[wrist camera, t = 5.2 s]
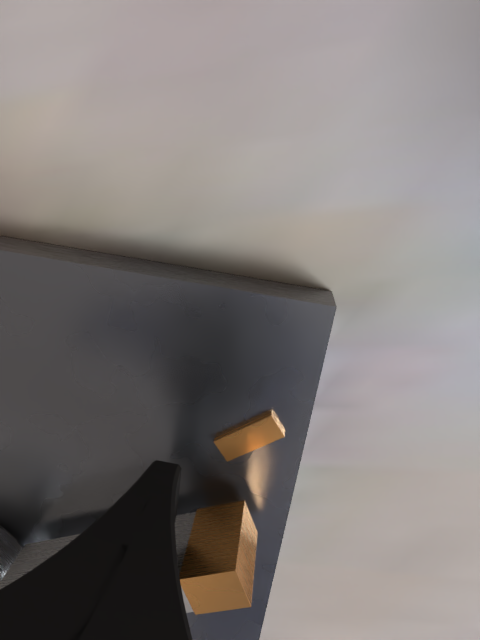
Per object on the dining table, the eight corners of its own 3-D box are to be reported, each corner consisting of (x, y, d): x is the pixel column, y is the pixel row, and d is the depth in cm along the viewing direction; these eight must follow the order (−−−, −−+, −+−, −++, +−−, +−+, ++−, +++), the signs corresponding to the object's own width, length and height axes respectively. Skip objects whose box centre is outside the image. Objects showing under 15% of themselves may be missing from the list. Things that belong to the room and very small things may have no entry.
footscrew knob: (-51, 619, 17) (-117, 707, 15) (-121, 522, 16) (-209, 599, 13) (274, 568, 15) (271, 664, 12) (226, 446, 13) (209, 522, 10)
